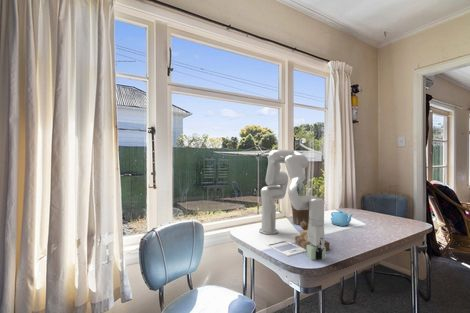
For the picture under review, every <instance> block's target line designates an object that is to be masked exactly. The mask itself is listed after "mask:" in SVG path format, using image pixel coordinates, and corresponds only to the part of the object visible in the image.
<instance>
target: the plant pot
mask: <svg viewBox="0 0 470 313" xmlns="http://www.w3.org/2000/svg"><path fill="white" fill-rule="evenodd" d="M290 205H291V206H290V207H291V211H292V212H291V213H292V223H293V224H294V225H296V226H300V225H301V222H302V221H304V222H306V223H308V224H309V209H308V210H296V209H294V208H293V206H292V204H291V203H290Z"/></svg>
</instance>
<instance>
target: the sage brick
mask: <svg viewBox="0 0 470 313" xmlns="http://www.w3.org/2000/svg"><path fill="white" fill-rule="evenodd" d="M319 245H320V244H319ZM319 248H320V247H318V249H319ZM316 251H317V250H316V246H314V245H313V244H310V245H307V251H306V257H307V258H308V259H309V260H312V261H315V260H316V261H317V260H318V259H316ZM326 251H327V250H326V247H325V249H323V252H322V259H321V260H325V259H326Z"/></svg>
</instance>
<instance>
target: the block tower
mask: <svg viewBox="0 0 470 313" xmlns="http://www.w3.org/2000/svg"><path fill="white" fill-rule="evenodd" d="M307 232H308V230H303V229H302V230H301V229H300V230H299V235H295V237H294V238H295V241H294V242H295V245H297V246H299V247H301V248H304V249H305V250H306V252H307V245H310V243H309V241H308V240H307ZM324 246H325V247H326V251H330V242H329V241H327V240H326V239H325V243H324Z"/></svg>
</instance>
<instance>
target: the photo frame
mask: <svg viewBox="0 0 470 313" xmlns="http://www.w3.org/2000/svg"><path fill="white" fill-rule="evenodd" d="M282 242H286V243H287V244H290V245H292V246H294V247H295V248H292V249H291V248H290V249H288V250H283V251H281V250H279V249H278V248H275V247H274V246H272V245H275V244H279V243H282ZM266 246H267V247H268V248H270V249H273V250H274V251H277V252H279V253H280V254H282V255H283V256H286V257H290V256H294V255H298V254H302V253H305V252H306V253H307V251H306V250H305V249H304V248H301V247H300V246H299V245H298V244H296V243H295V244H294V243H292V242H290V241H287V240H281V241H277V242H272V243H268V244H266Z"/></svg>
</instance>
